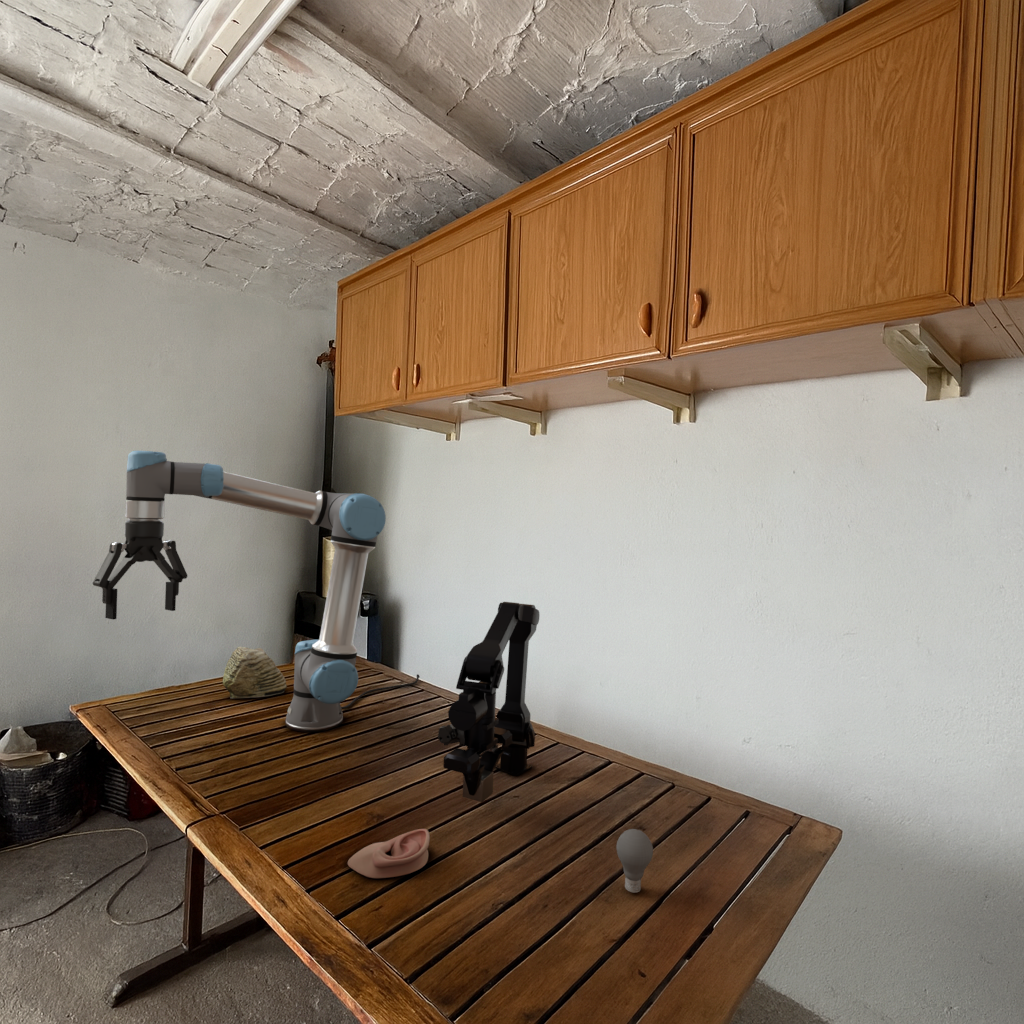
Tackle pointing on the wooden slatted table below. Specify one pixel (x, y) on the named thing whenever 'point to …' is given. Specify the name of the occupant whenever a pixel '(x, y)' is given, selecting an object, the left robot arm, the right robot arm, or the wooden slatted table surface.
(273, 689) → the fossil
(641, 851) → the light bulb
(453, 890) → the wooden slatted table surface
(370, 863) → the anatomical model
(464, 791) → the block
